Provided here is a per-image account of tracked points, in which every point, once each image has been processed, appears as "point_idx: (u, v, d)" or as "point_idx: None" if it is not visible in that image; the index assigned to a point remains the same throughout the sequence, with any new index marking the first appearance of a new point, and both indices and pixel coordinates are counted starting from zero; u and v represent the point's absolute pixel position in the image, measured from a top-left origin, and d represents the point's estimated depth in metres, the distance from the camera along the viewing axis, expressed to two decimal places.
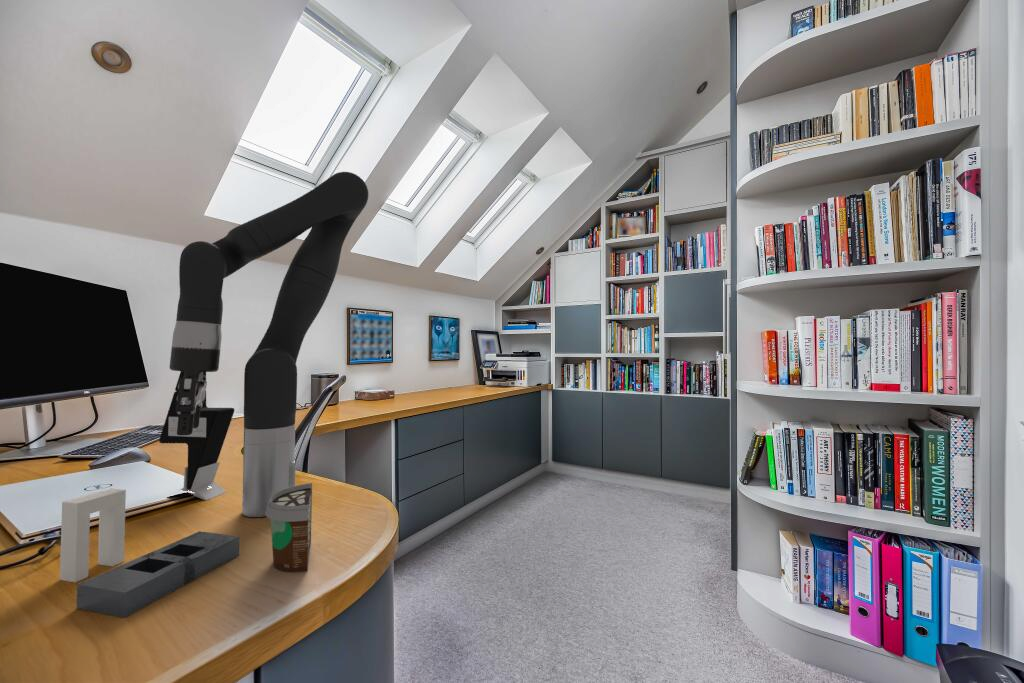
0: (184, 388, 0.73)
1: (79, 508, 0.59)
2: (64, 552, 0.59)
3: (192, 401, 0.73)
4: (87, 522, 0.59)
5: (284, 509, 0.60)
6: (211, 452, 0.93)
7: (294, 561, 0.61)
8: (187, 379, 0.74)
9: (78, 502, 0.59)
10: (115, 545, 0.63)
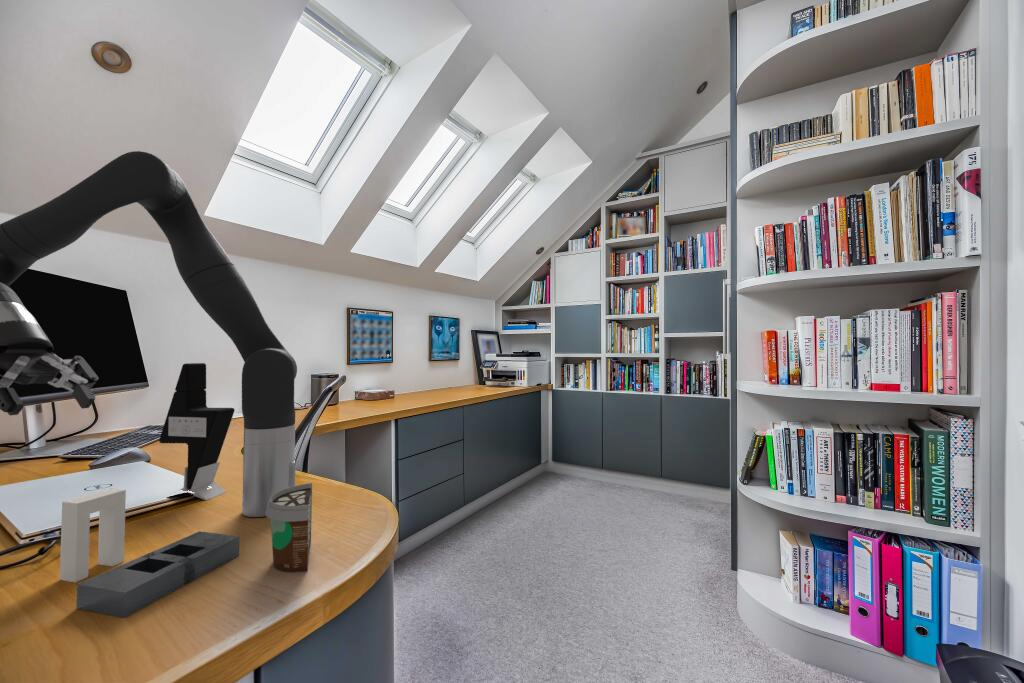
0: None
1: (79, 508, 0.59)
2: (64, 552, 0.59)
3: None
4: (87, 522, 0.59)
5: (284, 509, 0.60)
6: (211, 452, 0.93)
7: (294, 561, 0.61)
8: None
9: (78, 502, 0.59)
10: (115, 545, 0.63)
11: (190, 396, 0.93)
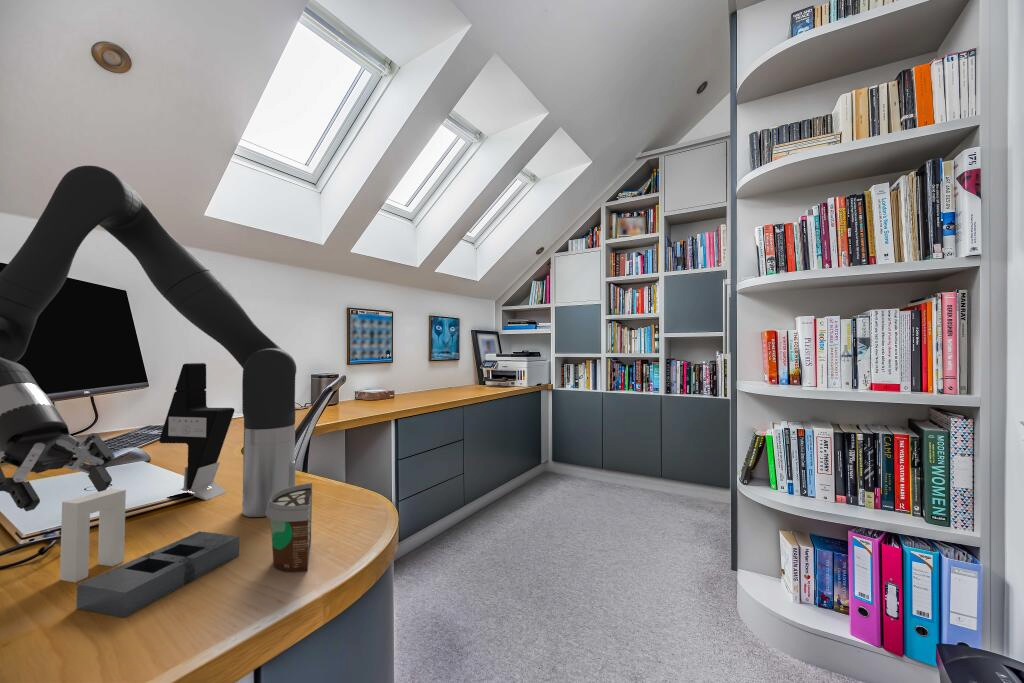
0: None
1: (79, 508, 0.59)
2: (64, 552, 0.59)
3: None
4: (87, 522, 0.59)
5: (284, 509, 0.60)
6: (211, 452, 0.93)
7: (294, 561, 0.61)
8: None
9: (78, 502, 0.59)
10: (115, 545, 0.63)
11: (190, 396, 0.93)
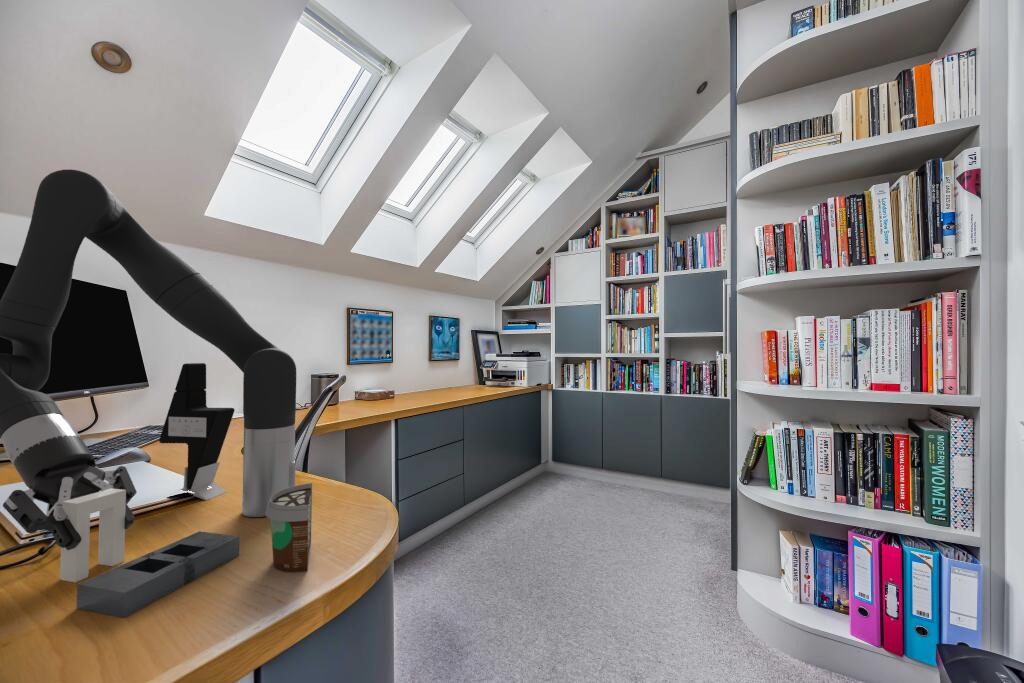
0: (13, 509, 0.56)
1: (79, 508, 0.59)
2: (64, 552, 0.59)
3: (28, 515, 0.56)
4: (87, 522, 0.59)
5: (284, 509, 0.60)
6: (211, 452, 0.93)
7: (294, 561, 0.61)
8: (7, 499, 0.56)
9: (78, 502, 0.59)
10: (115, 545, 0.63)
11: (190, 396, 0.93)
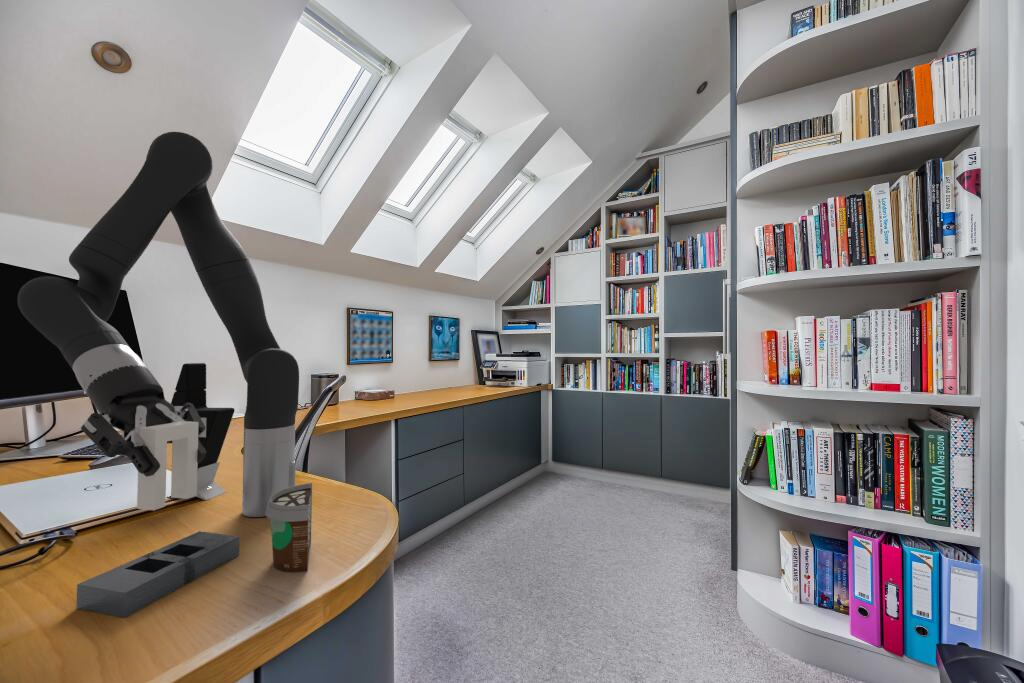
0: (91, 432, 0.54)
1: (157, 434, 0.57)
2: (141, 480, 0.57)
3: (108, 437, 0.54)
4: (164, 449, 0.57)
5: (284, 509, 0.60)
6: (211, 452, 0.93)
7: (294, 561, 0.61)
8: None
9: (156, 428, 0.57)
10: (189, 477, 0.61)
11: (190, 396, 0.93)
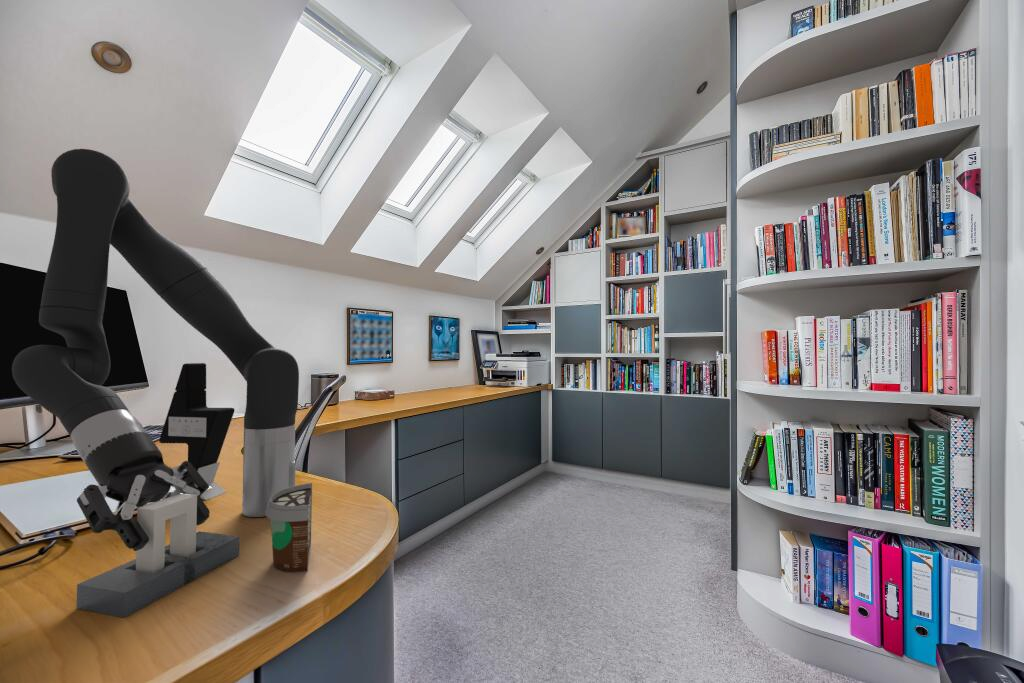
0: (85, 504, 0.54)
1: (156, 514, 0.56)
2: (139, 560, 0.56)
3: (97, 512, 0.53)
4: (163, 529, 0.57)
5: (284, 509, 0.60)
6: (211, 452, 0.93)
7: (294, 561, 0.61)
8: (81, 493, 0.54)
9: (154, 508, 0.56)
10: (188, 552, 0.61)
11: (190, 396, 0.93)
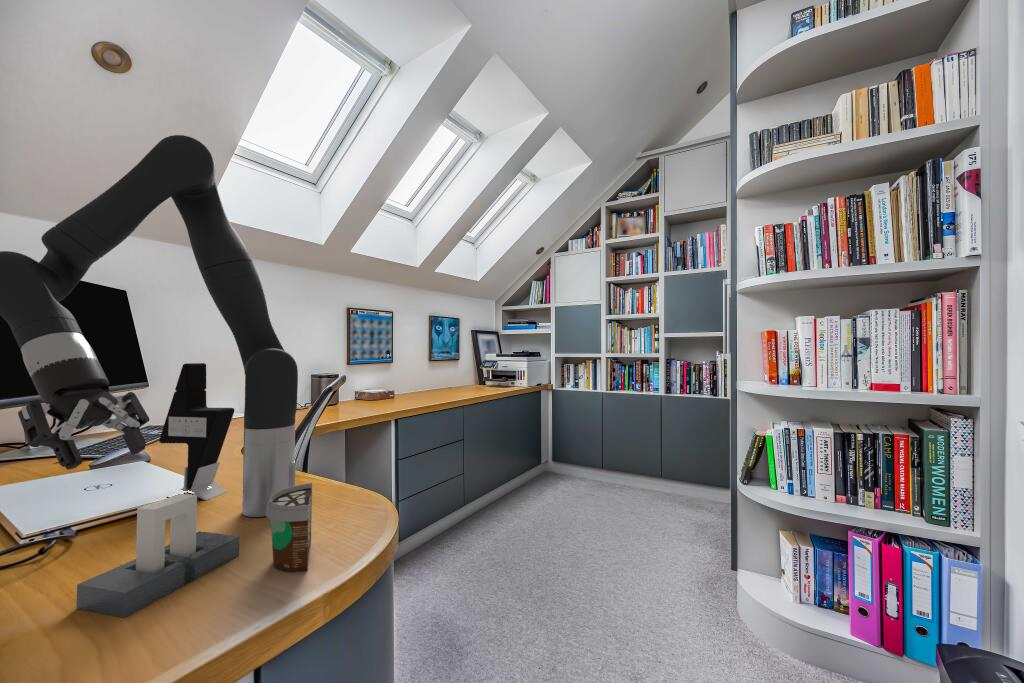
0: (25, 418, 0.57)
1: (156, 514, 0.56)
2: (139, 560, 0.56)
3: (36, 428, 0.56)
4: (163, 529, 0.57)
5: (284, 509, 0.60)
6: (211, 452, 0.93)
7: (294, 561, 0.61)
8: None
9: (154, 508, 0.56)
10: (188, 552, 0.61)
11: (190, 396, 0.93)
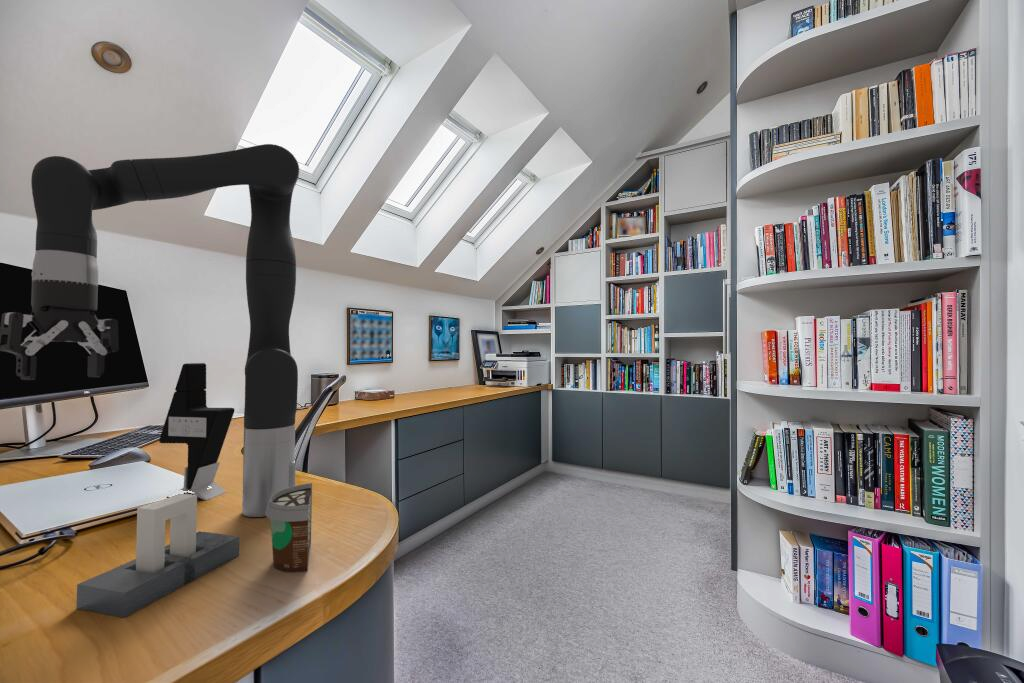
0: (5, 324, 0.62)
1: (156, 514, 0.56)
2: (139, 560, 0.56)
3: (8, 338, 0.62)
4: (163, 529, 0.57)
5: (284, 509, 0.60)
6: (211, 452, 0.93)
7: (294, 561, 0.61)
8: (8, 313, 0.63)
9: (154, 508, 0.56)
10: (188, 552, 0.61)
11: (190, 396, 0.93)
